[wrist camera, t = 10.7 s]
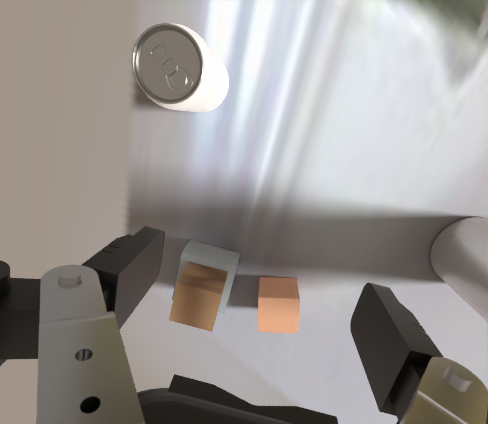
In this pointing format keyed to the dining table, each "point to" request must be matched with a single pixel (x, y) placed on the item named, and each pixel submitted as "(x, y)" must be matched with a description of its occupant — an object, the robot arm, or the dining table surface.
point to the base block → (211, 264)
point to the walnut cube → (198, 296)
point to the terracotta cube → (278, 305)
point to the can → (179, 69)
